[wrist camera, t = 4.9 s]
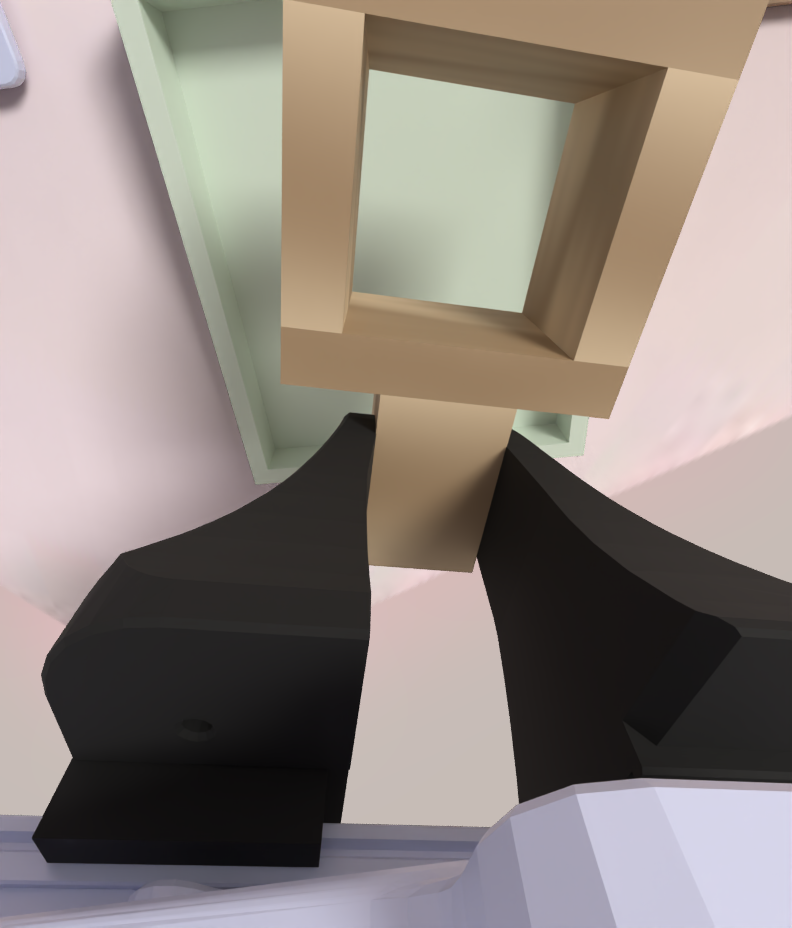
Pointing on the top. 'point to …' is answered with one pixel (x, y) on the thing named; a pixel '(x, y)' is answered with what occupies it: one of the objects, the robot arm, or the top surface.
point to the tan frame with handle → (560, 249)
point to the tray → (379, 215)
